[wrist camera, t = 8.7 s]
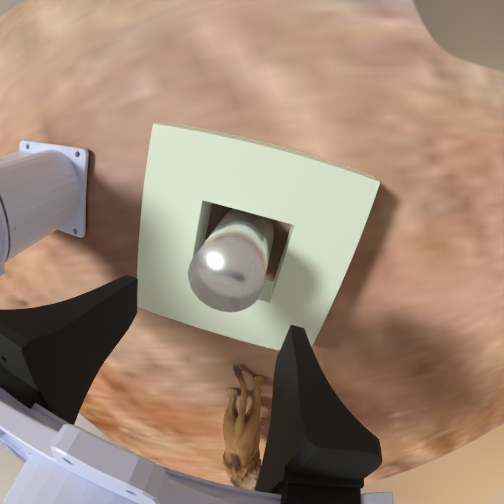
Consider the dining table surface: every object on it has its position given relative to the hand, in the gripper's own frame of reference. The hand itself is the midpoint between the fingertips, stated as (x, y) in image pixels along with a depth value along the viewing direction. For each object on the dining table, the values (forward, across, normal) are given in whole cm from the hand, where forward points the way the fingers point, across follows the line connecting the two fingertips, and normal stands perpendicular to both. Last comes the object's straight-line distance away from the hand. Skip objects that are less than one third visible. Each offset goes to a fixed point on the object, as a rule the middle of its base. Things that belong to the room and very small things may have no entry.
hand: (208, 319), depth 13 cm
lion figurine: (+10, -5, +20) cm, 23 cm away
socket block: (+10, 0, 0) cm, 10 cm away
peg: (+10, 0, 0) cm, 10 cm away
